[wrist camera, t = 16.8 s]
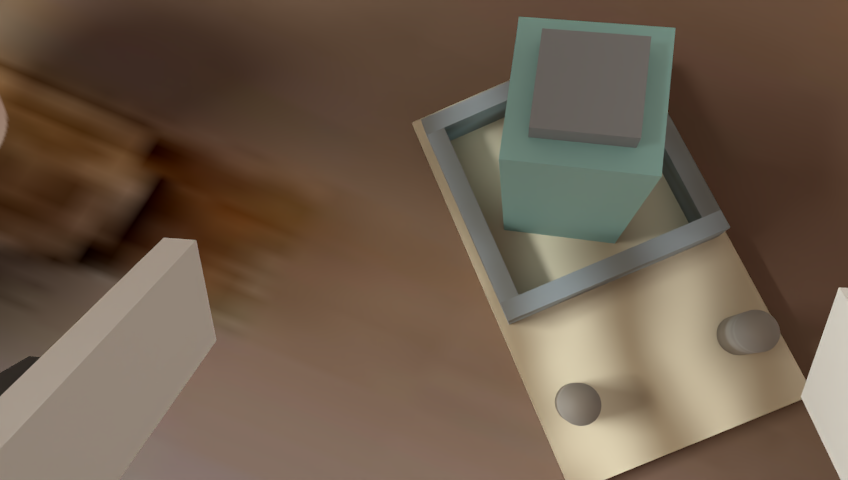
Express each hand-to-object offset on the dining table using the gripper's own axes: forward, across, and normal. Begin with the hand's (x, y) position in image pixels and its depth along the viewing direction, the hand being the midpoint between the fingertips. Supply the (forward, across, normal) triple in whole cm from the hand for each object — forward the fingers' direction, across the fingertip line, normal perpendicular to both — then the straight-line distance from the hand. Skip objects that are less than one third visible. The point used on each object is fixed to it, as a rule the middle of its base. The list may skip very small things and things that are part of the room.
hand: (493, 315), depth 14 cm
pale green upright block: (+23, +3, -7) cm, 24 cm away
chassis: (+22, +4, -11) cm, 25 cm away
